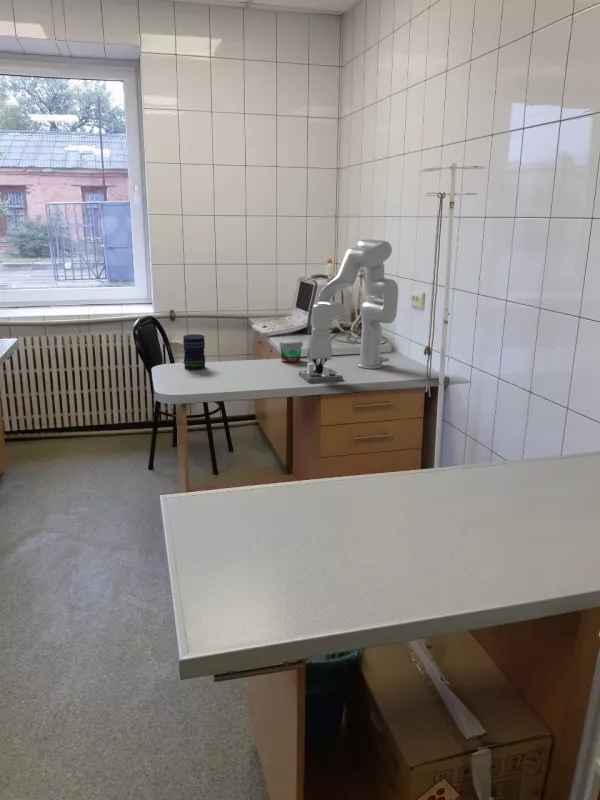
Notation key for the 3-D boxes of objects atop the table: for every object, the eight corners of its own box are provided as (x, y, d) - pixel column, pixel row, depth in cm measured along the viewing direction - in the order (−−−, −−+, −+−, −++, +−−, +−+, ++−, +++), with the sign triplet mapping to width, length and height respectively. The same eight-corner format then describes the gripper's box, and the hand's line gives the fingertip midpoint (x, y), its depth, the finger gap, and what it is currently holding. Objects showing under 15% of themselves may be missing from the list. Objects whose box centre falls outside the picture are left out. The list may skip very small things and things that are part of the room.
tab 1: (312, 373, 282) (312, 362, 280) (314, 374, 279) (314, 364, 278) (306, 373, 281) (306, 363, 279) (308, 375, 278) (308, 364, 277)
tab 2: (327, 376, 277) (327, 365, 276) (330, 377, 275) (330, 367, 273) (321, 376, 276) (321, 366, 275) (323, 378, 274) (324, 367, 272)
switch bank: (331, 373, 287) (331, 368, 286) (342, 380, 275) (342, 375, 274) (298, 375, 282) (299, 370, 281) (308, 383, 270) (308, 378, 269)
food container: (284, 365, 299) (284, 344, 296) (278, 362, 304) (279, 342, 301) (306, 362, 305) (307, 342, 302) (301, 359, 310) (301, 340, 307)
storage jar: (202, 364, 297) (201, 333, 293) (208, 369, 289) (207, 337, 284) (181, 366, 293) (180, 335, 289) (187, 371, 285) (186, 339, 280)
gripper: (333, 330, 274) (331, 370, 279) (301, 331, 269) (300, 372, 275) (339, 333, 267) (337, 374, 273) (306, 335, 262) (305, 376, 268)
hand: (319, 373), depth 274 cm, fingers closed
